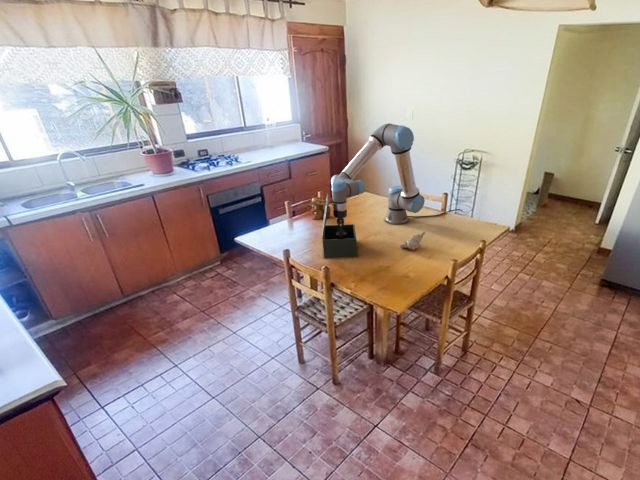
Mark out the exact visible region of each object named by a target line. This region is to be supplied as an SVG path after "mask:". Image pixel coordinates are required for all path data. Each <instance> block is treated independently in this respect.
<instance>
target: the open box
mask: <svg viewBox="0 0 640 480" xmlns="http://www.w3.org/2000/svg"><path fill="white" fill-rule="evenodd" d="M337 232H339V228H338V224H326V227H325V233H324V240H323V239H322V247H323V259H336V258H337V259H338V258H339V259H340V258H356V257H358V249H357V248H358V247H357V246H358V245H357V234H356V227H355V223H351V224H344V228H343V232H346V233H347V235H346V237H347V239H336V233H337Z"/></svg>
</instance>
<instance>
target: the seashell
mask: <svg viewBox="0 0 640 480" xmlns="http://www.w3.org/2000/svg"><path fill="white" fill-rule="evenodd" d="M425 234H426V232H425V231H424V230H423V231H421V232H420V233H417V234H415V235H413V236H412V237H410V238H409V239H407V240H406V241H404V242H402V243H401V244H399V247H400V248H401V249H409V250H412V251H414V250H417V249H418V248H419V247H421V242H422V241H421V240H422V239H423V237H424V236H425Z"/></svg>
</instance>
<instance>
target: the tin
mask: <svg viewBox="0 0 640 480" xmlns="http://www.w3.org/2000/svg"><path fill="white" fill-rule="evenodd" d="M346 235H347V233H346V232H343V237H344V239H347V237H346ZM336 239H339V232H337V233H336Z"/></svg>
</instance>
